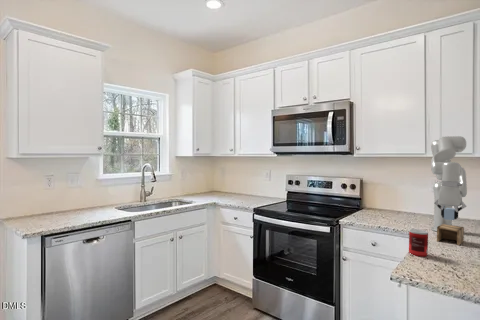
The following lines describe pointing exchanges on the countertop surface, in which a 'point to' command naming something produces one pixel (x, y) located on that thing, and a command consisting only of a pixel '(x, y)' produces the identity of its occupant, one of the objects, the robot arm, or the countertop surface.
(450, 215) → the bar
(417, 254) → the canned food
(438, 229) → the cubby
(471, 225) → the countertop surface
